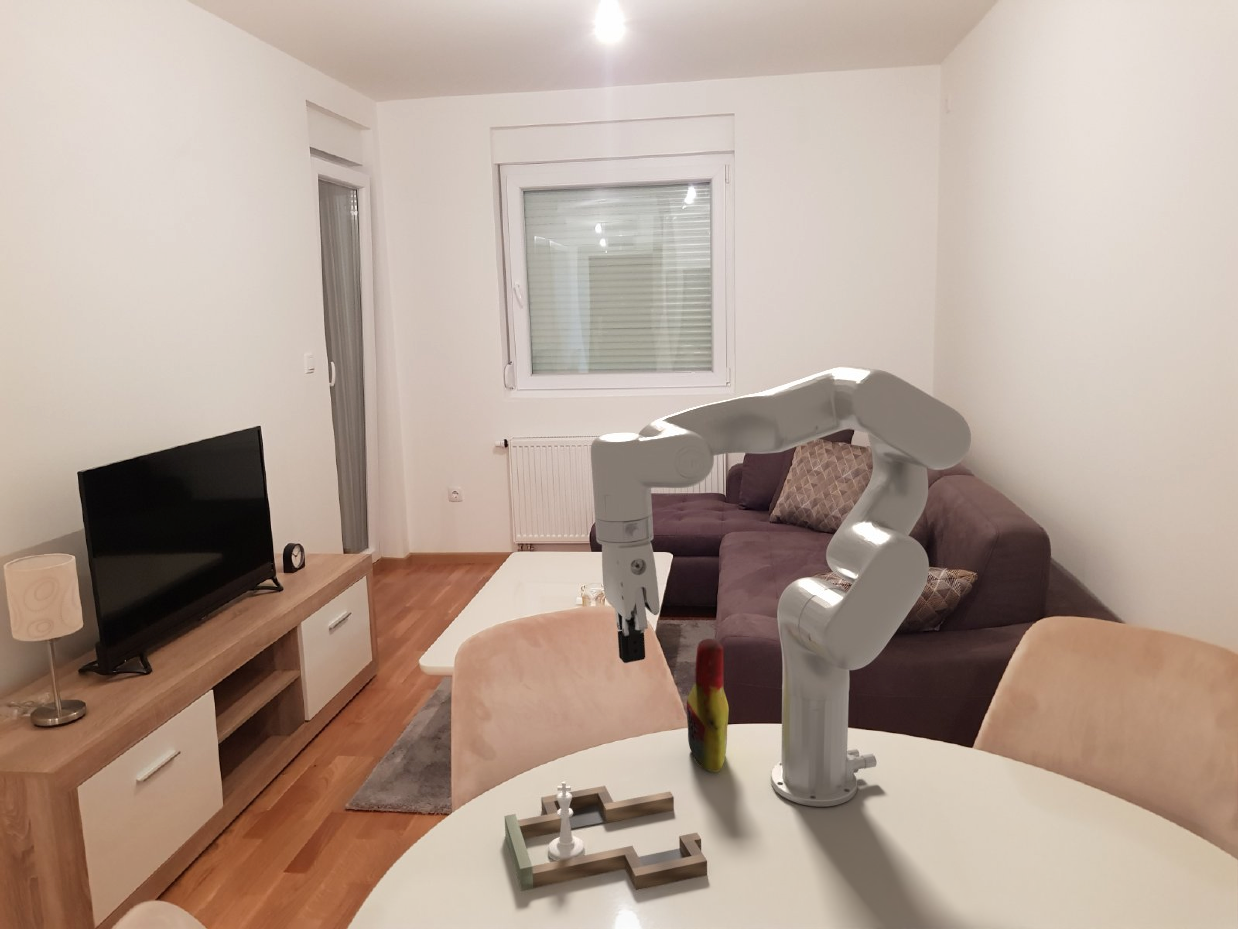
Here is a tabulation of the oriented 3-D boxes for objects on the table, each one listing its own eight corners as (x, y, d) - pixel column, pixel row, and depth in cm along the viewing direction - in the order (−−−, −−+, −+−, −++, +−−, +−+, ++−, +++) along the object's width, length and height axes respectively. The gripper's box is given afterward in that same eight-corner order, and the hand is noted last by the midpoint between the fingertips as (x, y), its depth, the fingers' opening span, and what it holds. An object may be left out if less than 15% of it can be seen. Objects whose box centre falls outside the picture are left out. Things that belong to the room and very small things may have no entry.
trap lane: (660, 788, 132) (659, 769, 132) (714, 873, 112) (714, 852, 112) (500, 817, 126) (499, 798, 125) (528, 914, 106) (527, 891, 105)
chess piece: (582, 863, 115) (579, 793, 113) (544, 862, 116) (541, 792, 114) (587, 840, 120) (585, 773, 118) (551, 839, 120) (548, 772, 118)
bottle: (733, 778, 134) (733, 654, 131) (691, 779, 134) (690, 655, 131) (723, 740, 146) (723, 625, 142) (684, 741, 146) (683, 626, 142)
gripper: (672, 538, 110) (679, 675, 114) (632, 511, 124) (639, 635, 128) (615, 547, 108) (624, 687, 111) (581, 519, 122) (589, 644, 125)
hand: (632, 658), depth 119 cm, fingers closed
